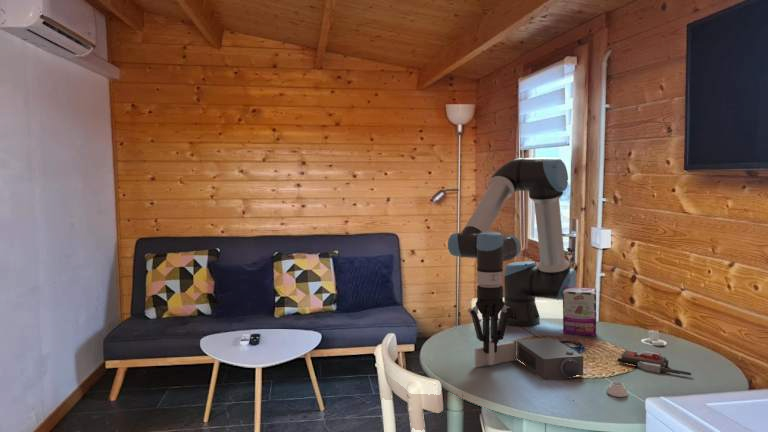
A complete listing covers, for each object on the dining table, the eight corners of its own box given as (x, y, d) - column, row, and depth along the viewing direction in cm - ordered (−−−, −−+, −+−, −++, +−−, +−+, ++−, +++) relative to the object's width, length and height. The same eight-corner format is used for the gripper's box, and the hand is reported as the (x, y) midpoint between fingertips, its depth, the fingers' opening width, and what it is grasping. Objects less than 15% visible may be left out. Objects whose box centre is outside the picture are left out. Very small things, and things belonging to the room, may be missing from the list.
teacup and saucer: (665, 348, 186) (665, 336, 186) (638, 345, 190) (639, 333, 190) (668, 342, 193) (668, 330, 193) (642, 338, 198) (642, 327, 197)
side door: (514, 359, 176) (514, 340, 175) (516, 360, 175) (516, 341, 174) (474, 366, 170) (474, 347, 169) (476, 367, 168) (476, 348, 168)
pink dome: (628, 399, 145) (625, 391, 150) (629, 387, 144) (626, 380, 149) (607, 397, 146) (605, 390, 151) (608, 386, 146) (605, 379, 151)
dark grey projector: (516, 359, 176) (516, 338, 175) (552, 356, 178) (552, 336, 177) (546, 382, 156) (546, 359, 156) (586, 379, 158) (586, 355, 158)
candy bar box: (596, 329, 204) (596, 287, 199) (596, 336, 199) (596, 293, 194) (563, 326, 208) (563, 285, 203) (562, 333, 203) (562, 291, 199)
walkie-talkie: (615, 366, 170) (690, 380, 158) (615, 352, 169) (691, 364, 158) (622, 358, 177) (694, 371, 165) (622, 344, 176) (695, 356, 165)
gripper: (473, 288, 162) (473, 369, 164) (515, 286, 164) (515, 365, 166) (464, 283, 169) (465, 361, 171) (505, 281, 172) (505, 357, 173)
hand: (490, 363), depth 168 cm, fingers closed
